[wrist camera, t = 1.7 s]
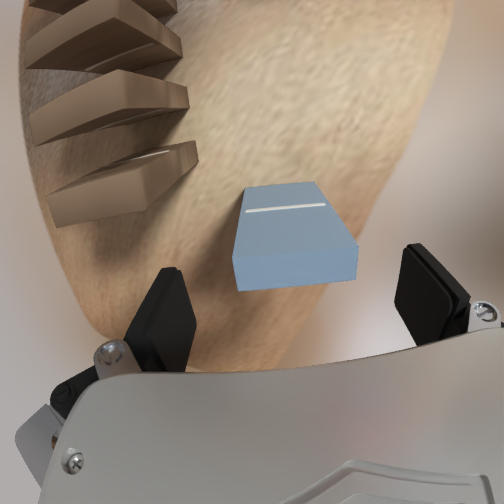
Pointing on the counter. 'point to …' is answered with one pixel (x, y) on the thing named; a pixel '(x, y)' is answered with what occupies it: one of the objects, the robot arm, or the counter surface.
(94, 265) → the counter surface
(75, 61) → the domino
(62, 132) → the domino
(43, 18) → the counter surface
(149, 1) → the domino
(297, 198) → the domino
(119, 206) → the domino
